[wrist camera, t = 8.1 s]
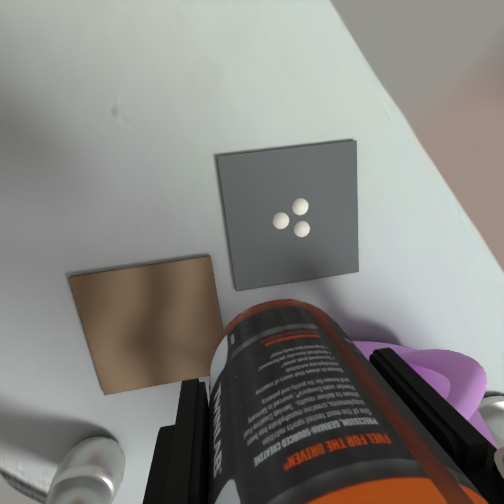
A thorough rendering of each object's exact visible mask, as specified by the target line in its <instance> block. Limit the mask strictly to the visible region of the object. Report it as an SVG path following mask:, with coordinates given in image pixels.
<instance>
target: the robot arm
mask: <svg viewBox="0 0 504 504" xmlns="http://www.w3.org/2000/svg"><path fill="white" fill-rule="evenodd" d="M369 362H370V363H371V364H372V365H373V366H374V367H375V368H376V370H377V371H378V372H379V374H380V375H381V376H382V377H383V378H384V379H385V381H386V382H387V383H388V384H389V386H390V387H391V388H392V389H393V390H394V391H395V392H396V394H397V395H398V396H399V397H400V398H401V399H402V401H403V402H404V403H405V404H406V405H407V406H408V407H409V409H410V410H411V411H412V412H413V414H414V415H415V416H416V417H417V419H418V420H419V421H420V422H421V423H422V425H423V426H424V427H425V428H426V429H427V430H428V432H429V433H430V434H431V435H432V436H433V438H434V439H435V440H436V441H437V442H438V443H439V445H440V446H441V447H442V448H443V450H444V451H445V452H446V453H447V454H448V455H449V456H450V457H451V459H452V460H453V461H454V463H455V464H456V465H457V466H458V467H459V469H460V470H461V471H462V472H463V473H464V474H465V475H466V476H467V477H468V479H469V480H470V481H471V482H472V484H473V485H474V486H475V487H476V489H477V490H478V491H479V493H480V494H481V495H482V496H483V498H484V499H485V500H486V501H487V502H488V504H504V396H490V397H486V398H482V400H481V402H480V404H479V406H478V407H477V410H478V411H479V413H480V415H481V417H482V418H483V420H484V422H485V424H486V425H487V427H488V429H489V431H490V433H491V435H492V436H493V438H494V440H495V442H496V444H497V446H498V448H499V449H497V448H496V447H495V446H493V445H492V444H491V443H490V442H489V441H488V440H487V439H486V438H485V437H484V436H483V435H482V434H481V433H480V432H479V431H478V430H477V429H476V428H475V427H474V426H473V425H471V424H470V423H469V422H468V421H467V420H466V419H465V418H464V417H463V416H462V415H461V414H460V413H459V412H458V411H457V410H456V409H455V408H454V407H453V406H452V405H450V404H449V403H448V402H447V401H446V400H445V399H444V398H443V397H442V396H441V395H440V394H439V393H438V392H437V391H436V390H435V389H434V388H433V387H432V386H431V385H429V384H428V383H427V382H426V381H425V380H424V379H423V378H422V377H421V376H420V375H419V374H418V373H417V372H416V371H415V370H414V369H413V368H412V367H411V366H409V365H408V364H407V363H406V362H405V361H404V360H403V359H402V358H401V357H400V356H399V355H398V354H397V353H396V352H395V351H394V350H393V349H391V348H389V347H387V348H381V349H375V350H374V351H373V354H371V355H370V356H369ZM208 469H209V405H208V398H207V392H206V385H205V382H199V379H198V378H196V379H190V380H184V381H182V385H181V391H180V398H179V404H178V410H177V416H176V423H175V425H170V426H165V427H161V428H160V429H159V432H158V436H157V441H156V445H155V450H154V454H153V459H152V463H151V468H150V472H149V477H148V481H147V486H146V490H145V495H144V499H143V504H208V492H209V488H208V471H209V470H208Z"/></svg>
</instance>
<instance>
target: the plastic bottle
mask: <svg viewBox="0 0 504 504" xmlns="http://www.w3.org/2000/svg"><path fill="white" fill-rule="evenodd" d="M124 468H125V455H124V452H123V450H122V448H121V446H120V445H119V444H118V443H117V442H116V441H114V440H113V439H110V438H107V437H100V436H99V437H91V438H88V439H86V440H84V441H82V442H80V443H79V444H77V445H75V446H74V447H73V448H72V449H71V450H70V451H69V452H68V454H67V455H66V456H65V458H64V459H63V460H62V462H61V463H60V464H59V466H58V468H57V470H56V473H55V475H54V478H53V480H52V483H51V485H50V489H49V492H48V496H47V499H46V501H45V503H44V504H111V503H112V501H113V499H114V497H115V495H116V493H117V491H118V489H119V487H120V484H121V482H122V480H123V475H124Z"/></svg>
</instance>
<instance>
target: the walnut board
mask: <svg viewBox="0 0 504 504" xmlns="http://www.w3.org/2000/svg"><path fill="white" fill-rule="evenodd" d="M68 279H69V283H70V286H71V289H72V292H73V296H74V299H75V302H76V305H77V309H78V312H79V315H80V318H81V321H82V325H83V328H84V331H85V334H86V338H87V341H88V344H89V347H90V351H91V354H92V357H93V360H94V363H95V367H96V370H97V373H98V376H99V380H100V383H101V386H102V389H103V392H104V395H109V394H114V393H119V392H125V391H130V390H135V389H141V388H146V387H151V386H156V385H162V384H167V383H172V382H178V381H183V380H188V379H194V378H199V377H204V376H210V370H211V360H212V354H213V351H214V347H215V345H216V343H217V341H218V339H219V337H220V335H221V333H222V332H223V330H222V324H221V317H220V311H219V305H218V299H217V293H216V287H215V280H214V274H213V268H212V262H211V256H205V257H198V258H191V259H185V260H178V261H171V262H164V263H157V264H151V265H144V266H137V267H130V268H123V269H117V270H110V271H103V272H96V273H89V274H83V275H76V276H70V277H69V278H68Z"/></svg>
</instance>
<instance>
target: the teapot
mask: <svg viewBox="0 0 504 504" xmlns="http://www.w3.org/2000/svg"><path fill="white" fill-rule="evenodd" d="M352 342H353V343H354V344H355V345H356V347H357V348H358V349H359V350H360V351H361V352H362V353H363V355H364V356H365V357H366V358H367V359H368V360H369V356H370V355H371V354H373V351H374V350H375V349H381V348H387V347H389V348H391V349H393V350H394V351H395V352H396V353H397V354H398V355H399V356H400V357H401V358H402V359H403V360H404V361H405V362H406V363H407V364H408V365H409V366H411V367H412V368H413V369H414V370H415V371H416V372H417V373H418V374H419V375H420V376H421V377H422V378H423V379H424V380H425V381H426V382H427V383H428V384H429V385H431V386H432V387H433V388H434V389H435V390H436V391H437V392H438V393H439V394H440V395H441V396H442V397H443V398H444V399H445V400H446V401H447V402H448V403H449V404H450V405H452V406H453V407H454V408H455V409H456V410H457V411H458V412H459V413H460V414H461V415H462V416H463V417H464V418H465V419H466V420H467V421H468V422H469V423H470V424H471V425H473V426H474V427H475V428H476V429H477V430H478V431H479V432H480V433H481V434H482V435H483V436H484V437H485V438H486V439H487V440H488V441H489V442H490V443H491V444H492V445H493V446H495V447H496V448H497V449H499V448H498V446H497V444H496V442H495V440H494V438H493V436H492V435H491V433H490V431H489V429H488V427H487V425H486V424H485V422H484V420H483V418H482V417H481V415H480V413H479V411H478V410H477V407H478V406H479V404H480V402H481V400H482V398H483V396H484V394H485V391H486V386H487V377H486V373H485V371H484V369H483V367H482V366H481V365H480V364H479V363H478V362H477V361H476V360H474V359H472V358H470V357H469V356H466V355H464V354H461V353H458V352H454V351H450V350H439V349H433V350H415V349H412V348H408V347H403V346H399V345H394V344H388V343H381V342H370V341H352Z"/></svg>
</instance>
